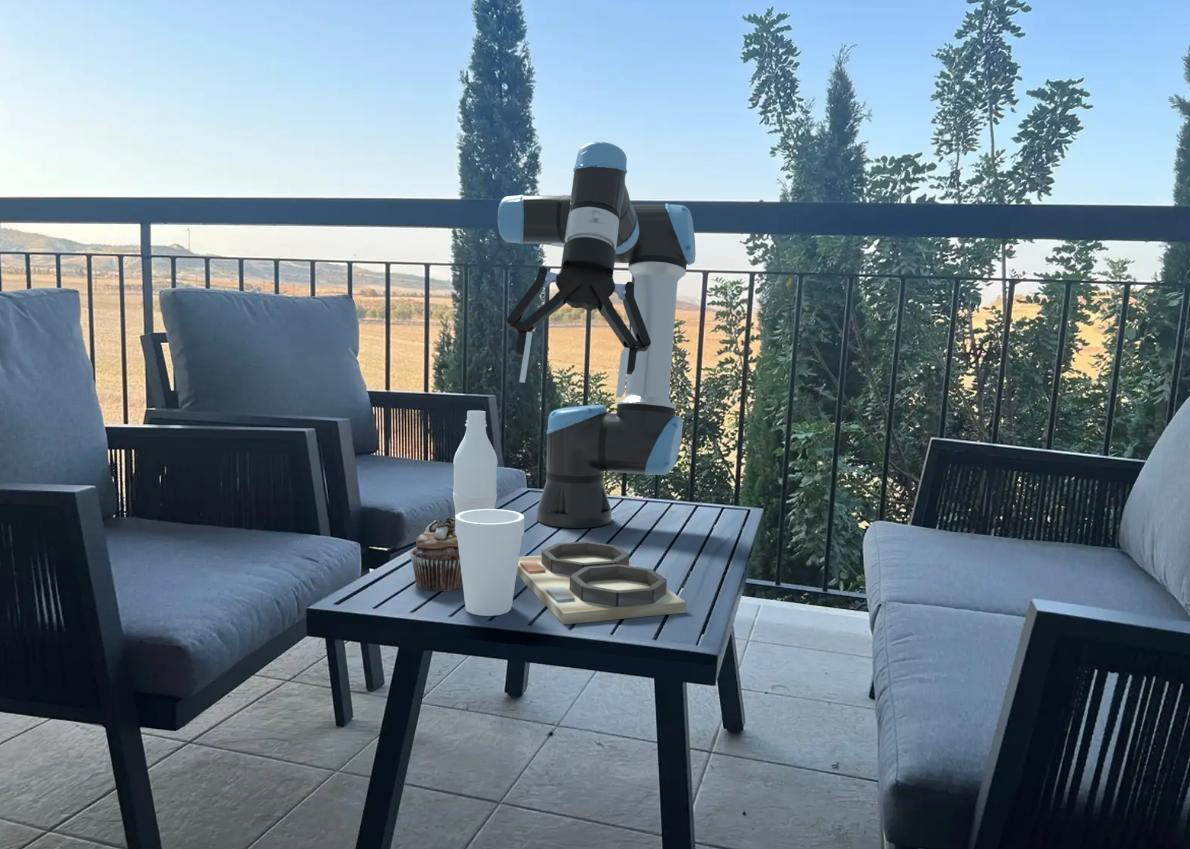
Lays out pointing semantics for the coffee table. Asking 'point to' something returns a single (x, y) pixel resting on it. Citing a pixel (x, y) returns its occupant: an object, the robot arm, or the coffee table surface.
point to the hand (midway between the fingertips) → (571, 387)
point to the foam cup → (489, 558)
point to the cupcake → (437, 557)
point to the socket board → (596, 584)
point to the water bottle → (475, 467)
